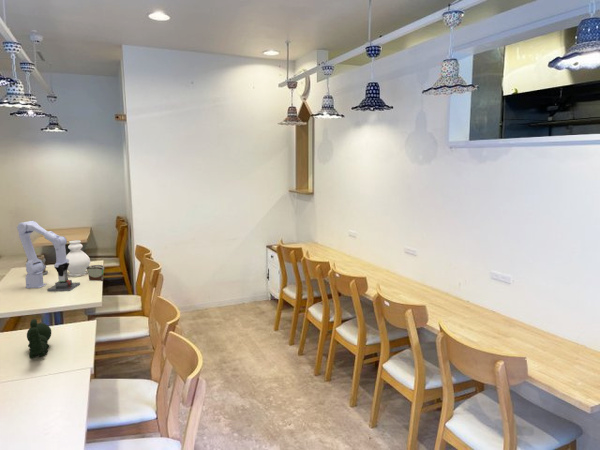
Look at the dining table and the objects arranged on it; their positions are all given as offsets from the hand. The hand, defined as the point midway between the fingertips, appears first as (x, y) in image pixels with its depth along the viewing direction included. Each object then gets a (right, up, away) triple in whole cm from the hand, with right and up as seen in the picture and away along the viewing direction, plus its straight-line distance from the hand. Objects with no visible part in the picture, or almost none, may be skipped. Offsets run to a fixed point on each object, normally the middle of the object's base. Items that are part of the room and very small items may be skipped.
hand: (62, 275), depth 272 cm
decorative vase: (-9, -4, +35) cm, 36 cm away
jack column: (0, -4, +1) cm, 4 cm away
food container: (+13, -6, +21) cm, 25 cm away
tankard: (-37, -4, +30) cm, 48 cm away
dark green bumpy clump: (+41, -23, -90) cm, 102 cm away
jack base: (0, -9, +1) cm, 9 cm away
